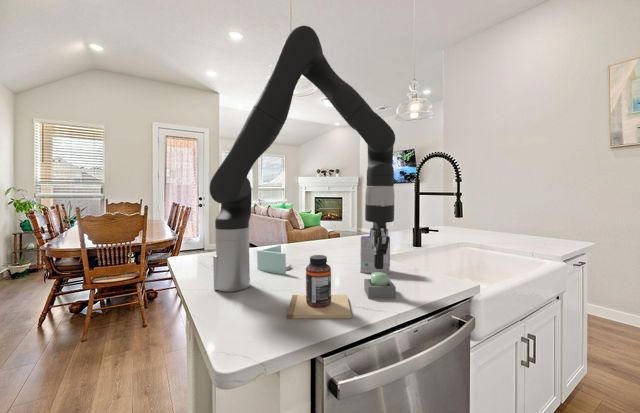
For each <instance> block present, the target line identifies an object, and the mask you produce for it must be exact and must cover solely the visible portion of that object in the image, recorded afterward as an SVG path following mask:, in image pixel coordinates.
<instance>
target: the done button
mask: <svg viewBox="0 0 640 413" xmlns="http://www.w3.org/2000/svg"><path fill="white" fill-rule="evenodd" d="M388 275H389V274H386V273H382V272H374V273H370V279H371V286H388V279H389V276H388Z"/></svg>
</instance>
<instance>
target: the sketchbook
mask: <svg viewBox="0 0 640 413" xmlns="http://www.w3.org/2000/svg"><path fill="white" fill-rule="evenodd" d="M289 301H290V302H289V305H288V310H287V313H286V319H352V311H351V307H350V304H349V300H348V294H331V303H330V304H329V305H327V306H325V307H312V306H310V305H308V304H307V302H306V294H292V295H291V299H290V300H289Z"/></svg>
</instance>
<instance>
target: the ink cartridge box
mask: <svg viewBox="0 0 640 413" xmlns="http://www.w3.org/2000/svg"><path fill="white" fill-rule="evenodd" d="M370 232H371V228H370V230H369V235H361V237H360V273H367V274H371V273H374V272H382V273H386V274H388V275H390V269H391V268H390V267H391V261H390V260H391V238H390V235H388V236H387V237H389V243H388V248H387V252H386V254H385V255H384V261H383V269H376V268H375V267H374V252H373V249H372V240H371V233H370Z"/></svg>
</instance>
